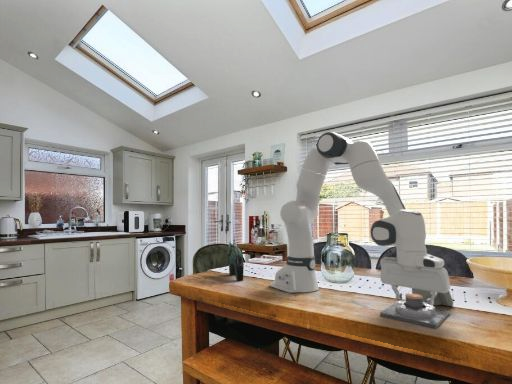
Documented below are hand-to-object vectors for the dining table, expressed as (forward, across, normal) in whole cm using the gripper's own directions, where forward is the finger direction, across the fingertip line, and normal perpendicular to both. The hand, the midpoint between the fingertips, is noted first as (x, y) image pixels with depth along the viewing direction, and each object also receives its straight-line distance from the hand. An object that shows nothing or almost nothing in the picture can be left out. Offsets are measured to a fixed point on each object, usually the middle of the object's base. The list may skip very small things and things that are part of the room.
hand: (414, 301), depth 96 cm
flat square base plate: (+4, 0, 0) cm, 4 cm away
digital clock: (+4, 0, +19) cm, 20 cm away
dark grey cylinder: (+3, 0, 0) cm, 3 cm away
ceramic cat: (+4, -87, -1) cm, 87 cm away
